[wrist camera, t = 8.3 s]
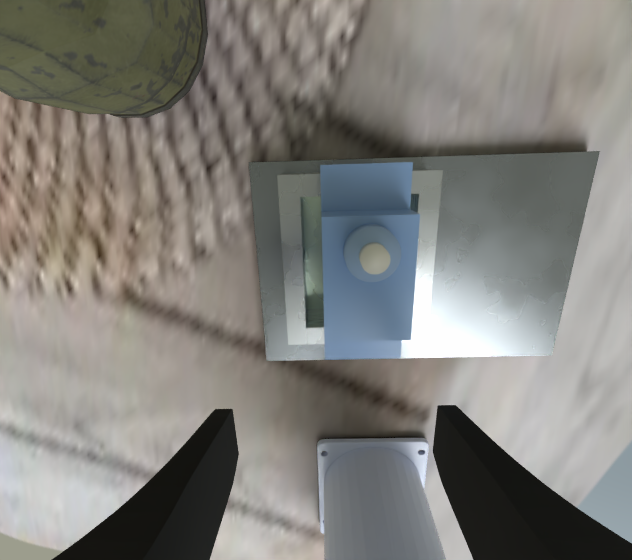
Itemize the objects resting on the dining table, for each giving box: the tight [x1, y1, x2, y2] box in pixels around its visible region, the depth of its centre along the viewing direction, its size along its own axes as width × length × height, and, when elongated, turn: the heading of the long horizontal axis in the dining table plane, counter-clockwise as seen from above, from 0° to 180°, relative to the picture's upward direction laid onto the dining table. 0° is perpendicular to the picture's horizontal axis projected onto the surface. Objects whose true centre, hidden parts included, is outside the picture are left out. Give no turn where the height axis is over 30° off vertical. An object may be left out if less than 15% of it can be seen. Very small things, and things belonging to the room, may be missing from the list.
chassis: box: [249, 151, 600, 361], centre depth 18 cm, size 12×18×3 cm, turn 92°
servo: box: [320, 162, 420, 360], centre depth 15 cm, size 9×4×7 cm, turn 2°
